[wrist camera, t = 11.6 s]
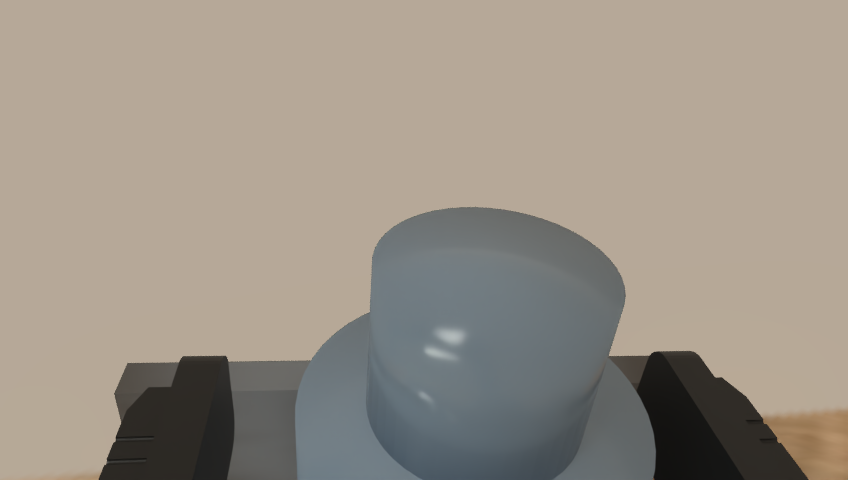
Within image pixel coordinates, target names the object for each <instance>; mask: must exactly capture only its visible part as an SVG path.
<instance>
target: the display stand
mask: <svg viewBox="0 0 848 480" xmlns="http://www.w3.org/2000/svg"><path fill="white" fill-rule="evenodd" d="M608 358H609V359H610V360H611V361H612V362H613V363H614V364H615V365H616V366H617V367H618V368H619V369H620V370H621V371H622V373H623V374H624V375H625V376H626V378H627V379H628V380H629V381H630V383H631V384H632V386H633V387H634V389H635V390H636V391H637V388H638V386H639V383H640V380H641V377H642V374H643V371H644V369H645V366H646V363H647V360H648V358H649V356H608ZM310 362H311V361H252V362H228V364H229V373H230V382H231V390H232V399H233V408H234V419H235V430H234V444H233V451H232V456H231V461H230V467H229V472H228V477H227V480H297V457H296V432H295V405H296V399H297V394H298V388H299V386H300V383H301V380H302V377H303V375H304V372H305V370H306V369H307V367H308V365H309V363H310ZM178 364H179V363H128V364H127V366H126V368H125V370H124V373H123V375H122V377H121V380H120V382H119V384H118V387H117V389H116V391H115V393H114V394H115V399H116V403H117V406H118V410H119V414H120V419H121V423H122V420H123V418H124V415H125V413H126V410H127V409H128V408H129V407H130V406H131V405H132V404H133V403H134V402H135V401H136V400H137V399H138V398H139V397H140V396H141V395H142V393H143V392H144V391H145V390H146V389H147V388H148V387H171V385H172V382H173V379H174V376H175V373H176V370H177V367H178Z"/></svg>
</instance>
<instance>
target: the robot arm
mask: <svg viewBox="0 0 848 480" xmlns="http://www.w3.org/2000/svg"><path fill="white" fill-rule="evenodd" d="M636 392H637V394H638V395H639V397H640V399H641V401H642V403H643V405H644V407H645V409H646V411H647V414H648V416H649V420H650V423H651V426H652V429H653V433H654V441H655V448H656V459H655V472H654V476H653V478H654V480H808V478H807V477H806V476H805V474H804V473H803V472H802V470H801V469H800V468H799V466H798V465H797V464H796V462H795V461H794V460H793V458H792V457H791V456H790V454H789V453H788V452H787V450H786V449H785V448H784V446H783V445H782V444H781V443H778V442H777V437H776V436H775V434H774V433H773V432H772V430H771V429H770V428H769V426H768V425H767V424H764V423H763V418H762V417H761V416H760V414H759V413H758V412H757V410H756V409H755V408H754V407H753V405H752V404H751V402H750V401H749V400H748V399H747V397H746V396H744V395H743V394H742V393H741V392H739V391H738V390H737V389H736V388H734V387H733V386H732V385H731V384H729V383H728V382H727V381H725V380H724V379H723V378H715V377H714V376H713V374H712V373H711V372H710V370H709V369H708V367H707V366H706V365H705V363H704V362H703V361H702V359H701V358H700V356H699V355H698V354H696V353H695V352H692V351H669V352H668V351H666V352H664V351H663V352H653V353H652V354H651V355H650V356H649V358H648V360H647V363H646V366H645V369H644V371H643V374H642V377H641V380H640V383H639V386H638V388H637V391H636ZM234 430H235V419H234V408H233V399H232V390H231V382H230V373H229V364H228V359H227V357H226V356H184V357H182V358H181V360H180V362H179V364H178V367H177V370H176V373H175V376H174V379H173V382H172V385H171V387H148V388H147V389H146V390H145V391H144V392H143V393H142V395H141V396H140V397H139V398H138V399H137V400H136V401H135V402H134V403H133V404H132V405H131V406H130V407H129V408H128V409H127V410H126V413H125V415H124V418H123V420H122V423H121V425H120V428H119V430H118V433H117V435H116V442H114V443H113V445H112V448H111V450H110V453H109V455H108V457H107V464H106V465H104V467H103V470H102V472H101V475H100V477H99V480H227V477H228V472H229V467H230V461H231V456H232V451H233V444H234Z"/></svg>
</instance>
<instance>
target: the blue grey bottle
mask: <svg viewBox="0 0 848 480" xmlns="http://www.w3.org/2000/svg"><path fill="white" fill-rule="evenodd" d="M624 303H625V287H624V283H623V280H622V277H621V275H620V273H619V272H618V270H617V268H616V267H615V265H614V264H613V263H612V262H611V260H610V259H609V258H608V257H607V256H606V255H605V254H604V253H603V252H602V251H601V250H600V249H598V248H597V247H596V246H595V245H593V244H592V243H591V242H589V241H588V240H586V239H584V238H583V237H581V236H580V235H578V234H576V233H574V232H572V231H571V230H569V229H566V228H564V227H562V226H560V225H558V224H555V223H552V222H550V221H547V220H544V219H541V218H538V217H535V216H531V215H527V214H523V213H519V212H513V211H508V210H501V209H493V208H478V207H467V208H466V207H461V208H450V209H449V208H448V209H442V210H436V211H431V212H427V213H423V214H420V215H417V216H414V217H411V218H409V219H407V220H405V221H403V222H401V223H399V224H397V225H396V226H394V227H393V228H391V229H390V230H389V231H388V232H387V233H385V235H384V236H383V237H382V238H381V239H380V240H379V242H378V244H377V246H376V247H375V250H374V254H373V257H372V279H371V299H370V312H369V313H367V314H365V315H363V316H361V317H359V318H358V319H356V320H354V321H352V322H350V323H348V324H347V325H346V326H344V327H343V328H342V329H340V330H339V331H338V332H336V333H335V334H334V335H333V336H332V337H331V338H330V339H329V340H327V341H326V343H324V344H323V345H322V347H321V348H320V349H319V350H318V352H317V353H316V355H315V356H314V357H313V358H312V360H311V362H310V363H309V365H308V367H307V369H306V370H305V372H304V375H303V377H302V380H301V383H300V386H299V388H298V394H297V399H296V405H295V432H296V457H297V480H653V476H654V472H655V459H656V448H655V441H654V433H653V429H652V426H651V423H650V420H649V416H648V414H647V411H646V409H645V407H644V405H643V403H642V401H641V399H640V397H639V395H638V394H637V392H636V390H635V389H634V387H633V386H632V384H631V383H630V381H629V380H628V379H627V378H626V376H625V375H624V374H623V373H622V371H621V370H620V369H619V368H618V367H617V366H616V365H615V364H614V363H613V362H612V361H611V360H610V359H609V358H608V356H609V352H610V349H611V346H612V343H613V339H614V336H615V333H616V330H617V327H618V323H619V320H620V317H621V314H622V311H623V307H624Z"/></svg>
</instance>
